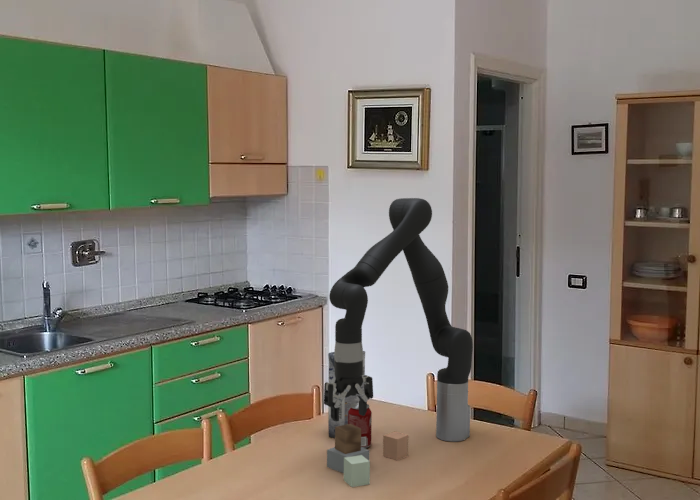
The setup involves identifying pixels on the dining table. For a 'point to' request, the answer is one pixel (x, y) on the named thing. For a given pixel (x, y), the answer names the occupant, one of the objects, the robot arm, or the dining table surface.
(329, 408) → the juice carton
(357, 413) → the soda can
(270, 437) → the dining table surface
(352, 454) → the grey base block
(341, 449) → the walnut block
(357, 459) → the pale green block
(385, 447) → the tan block
